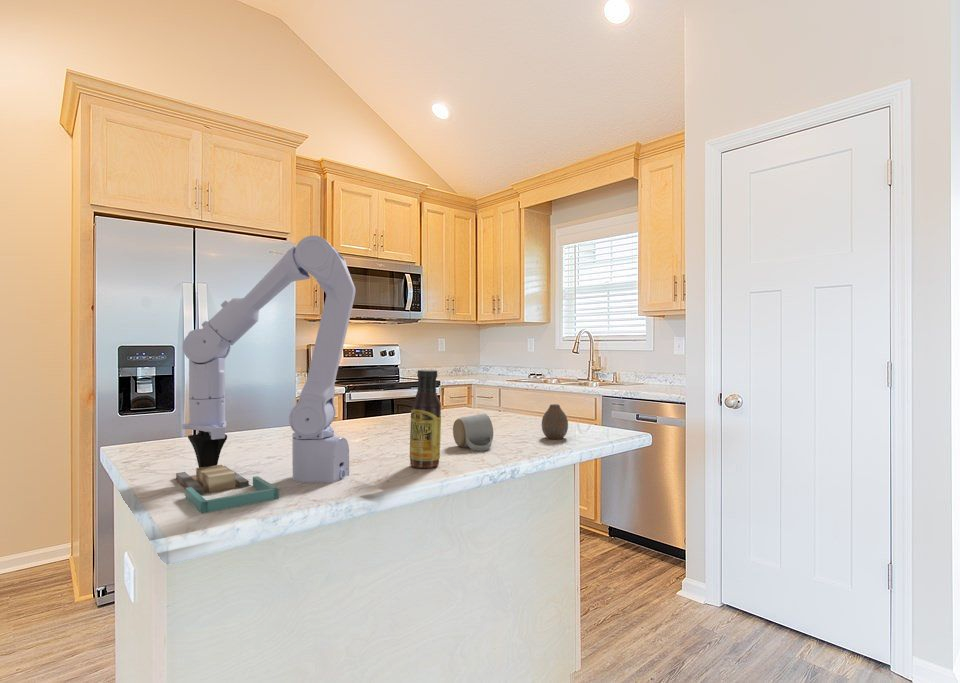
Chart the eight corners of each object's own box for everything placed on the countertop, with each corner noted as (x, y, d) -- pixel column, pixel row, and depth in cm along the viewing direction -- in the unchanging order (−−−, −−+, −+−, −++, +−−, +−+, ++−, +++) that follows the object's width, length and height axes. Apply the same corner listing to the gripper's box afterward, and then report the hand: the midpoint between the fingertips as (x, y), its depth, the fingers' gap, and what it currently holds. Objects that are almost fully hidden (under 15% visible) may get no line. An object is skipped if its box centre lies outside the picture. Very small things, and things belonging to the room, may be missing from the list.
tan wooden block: (235, 487, 90) (235, 472, 90) (209, 492, 88) (209, 476, 88) (228, 483, 93) (228, 468, 93) (203, 487, 91) (203, 472, 91)
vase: (537, 436, 145) (537, 403, 144) (560, 435, 147) (560, 402, 147) (548, 441, 138) (548, 406, 138) (572, 439, 140) (572, 405, 140)
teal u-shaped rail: (278, 507, 84) (278, 488, 84) (201, 523, 77) (201, 502, 77) (257, 493, 92) (257, 476, 92) (185, 506, 85) (185, 487, 85)
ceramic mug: (451, 444, 134) (451, 413, 133) (480, 441, 137) (481, 411, 137) (468, 453, 124) (468, 420, 124) (500, 450, 128) (500, 418, 127)
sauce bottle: (403, 467, 110) (403, 370, 110) (420, 461, 116) (420, 368, 116) (430, 471, 107) (430, 371, 107) (447, 464, 113) (446, 369, 113)
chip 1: (227, 483, 93) (227, 468, 93) (201, 487, 91) (201, 472, 91) (221, 478, 96) (221, 464, 96) (196, 482, 94) (196, 468, 94)
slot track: (251, 494, 92) (251, 480, 92) (192, 505, 86) (192, 490, 86) (227, 478, 102) (227, 465, 102) (173, 486, 97) (173, 473, 97)
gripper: (173, 396, 99) (173, 470, 99) (191, 403, 88) (192, 486, 88) (215, 393, 103) (215, 464, 103) (237, 399, 92) (238, 479, 92)
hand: (208, 474), depth 96 cm, fingers closed
